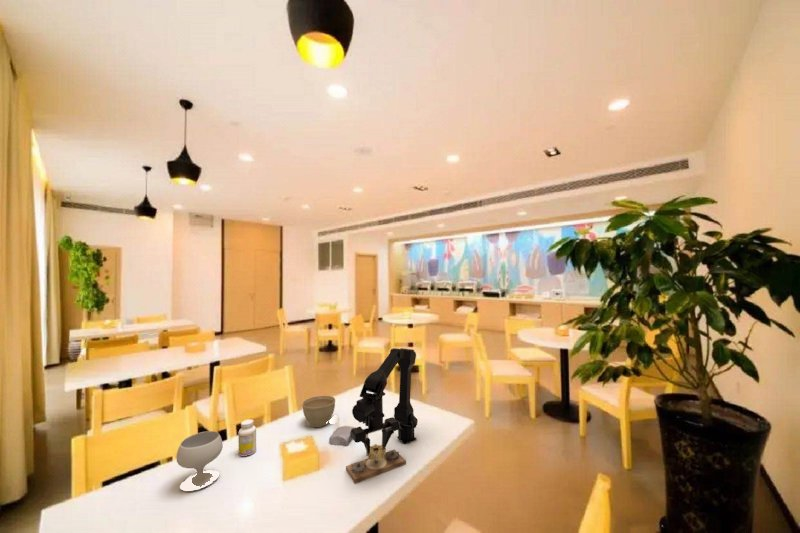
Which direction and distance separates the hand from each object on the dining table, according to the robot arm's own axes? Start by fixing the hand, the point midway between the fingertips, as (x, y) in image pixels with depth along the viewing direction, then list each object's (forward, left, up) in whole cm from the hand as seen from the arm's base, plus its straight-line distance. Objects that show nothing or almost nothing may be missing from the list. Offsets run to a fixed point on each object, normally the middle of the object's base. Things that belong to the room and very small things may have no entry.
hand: (376, 451), depth 115 cm
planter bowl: (+9, -48, -6) cm, 49 cm away
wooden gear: (0, 0, -1) cm, 1 cm away
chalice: (+58, -27, -6) cm, 64 cm away
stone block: (+4, -27, -6) cm, 28 cm away
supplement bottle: (+42, -38, -6) cm, 57 cm away
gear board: (0, 0, -6) cm, 6 cm away
